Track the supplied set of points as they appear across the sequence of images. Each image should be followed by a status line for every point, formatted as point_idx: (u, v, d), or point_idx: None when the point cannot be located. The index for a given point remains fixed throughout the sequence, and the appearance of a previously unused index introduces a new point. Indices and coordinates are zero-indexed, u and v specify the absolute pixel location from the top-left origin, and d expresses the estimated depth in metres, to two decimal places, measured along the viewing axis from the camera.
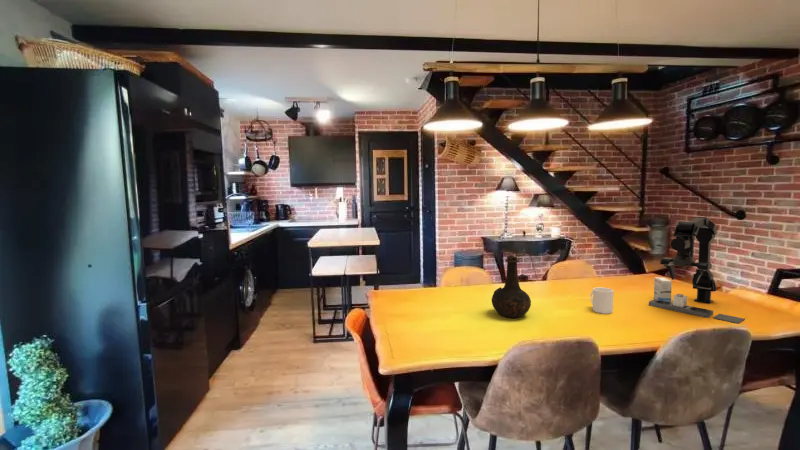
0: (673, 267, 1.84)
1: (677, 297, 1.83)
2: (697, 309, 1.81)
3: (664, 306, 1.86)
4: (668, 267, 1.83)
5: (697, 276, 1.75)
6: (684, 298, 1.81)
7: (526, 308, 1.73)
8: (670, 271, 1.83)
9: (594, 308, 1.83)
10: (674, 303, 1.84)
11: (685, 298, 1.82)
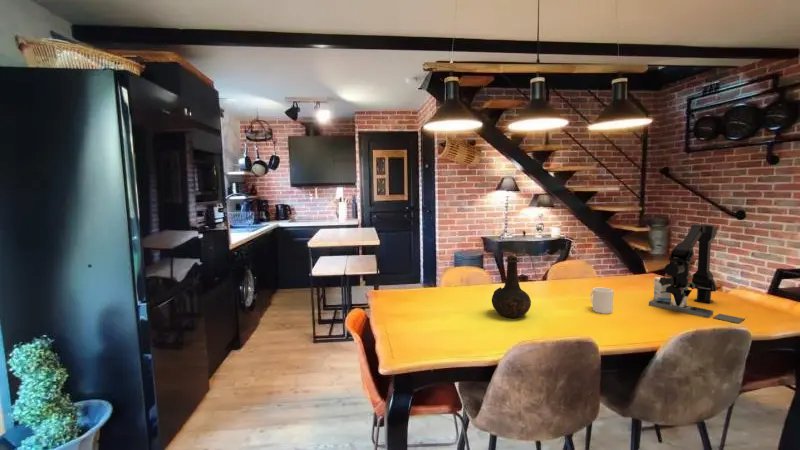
0: (685, 292, 1.84)
1: None
2: (697, 309, 1.81)
3: (664, 306, 1.86)
4: None
5: None
6: (684, 298, 1.81)
7: (526, 308, 1.73)
8: None
9: (594, 308, 1.83)
10: (674, 303, 1.84)
11: (685, 298, 1.82)
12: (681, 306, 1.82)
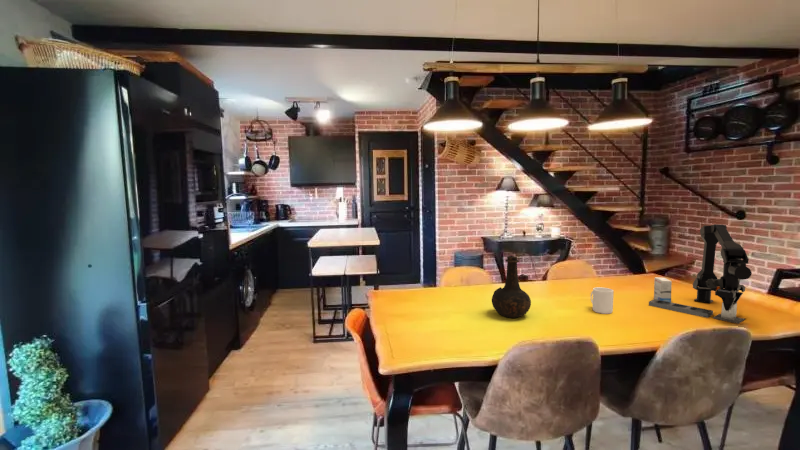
0: (735, 295, 1.71)
1: None
2: (697, 309, 1.81)
3: (664, 306, 1.86)
4: None
5: None
6: (734, 305, 1.68)
7: (526, 308, 1.73)
8: None
9: (594, 308, 1.83)
10: (723, 311, 1.71)
11: (735, 305, 1.69)
12: (731, 314, 1.68)
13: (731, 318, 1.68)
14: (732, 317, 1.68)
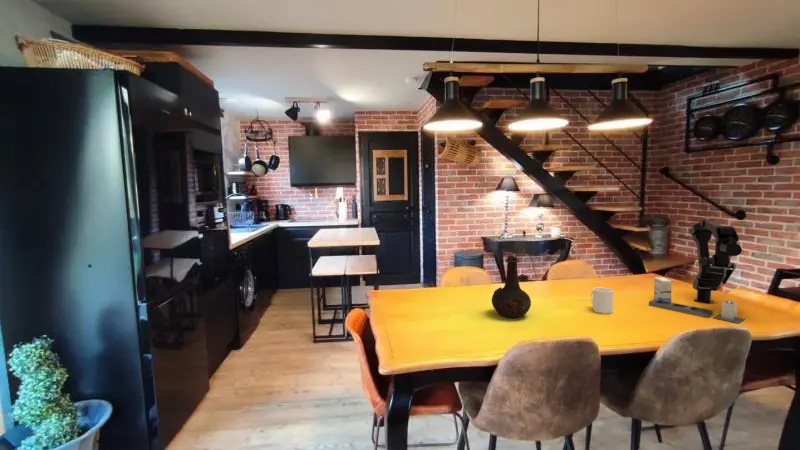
0: (727, 272, 1.82)
1: (726, 304, 1.69)
2: (697, 309, 1.81)
3: (664, 306, 1.86)
4: None
5: None
6: (734, 305, 1.68)
7: (526, 308, 1.73)
8: None
9: (594, 308, 1.83)
10: (723, 311, 1.71)
11: (735, 305, 1.69)
12: (731, 314, 1.68)
13: (731, 318, 1.68)
14: (732, 317, 1.68)
